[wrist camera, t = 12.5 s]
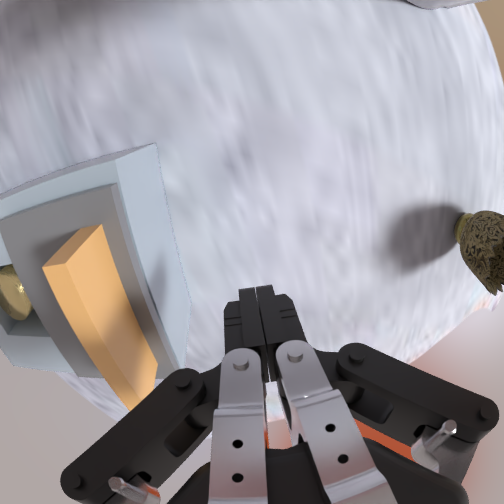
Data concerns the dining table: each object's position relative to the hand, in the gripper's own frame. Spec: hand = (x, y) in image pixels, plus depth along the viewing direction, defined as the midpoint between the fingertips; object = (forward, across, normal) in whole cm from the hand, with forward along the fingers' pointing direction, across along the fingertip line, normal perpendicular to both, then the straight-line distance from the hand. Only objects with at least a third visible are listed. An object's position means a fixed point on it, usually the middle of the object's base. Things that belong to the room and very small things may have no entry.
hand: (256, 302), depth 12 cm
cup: (+10, -24, +3) cm, 26 cm away
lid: (+2, +9, 0) cm, 9 cm away
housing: (+10, +14, 0) cm, 17 cm away
